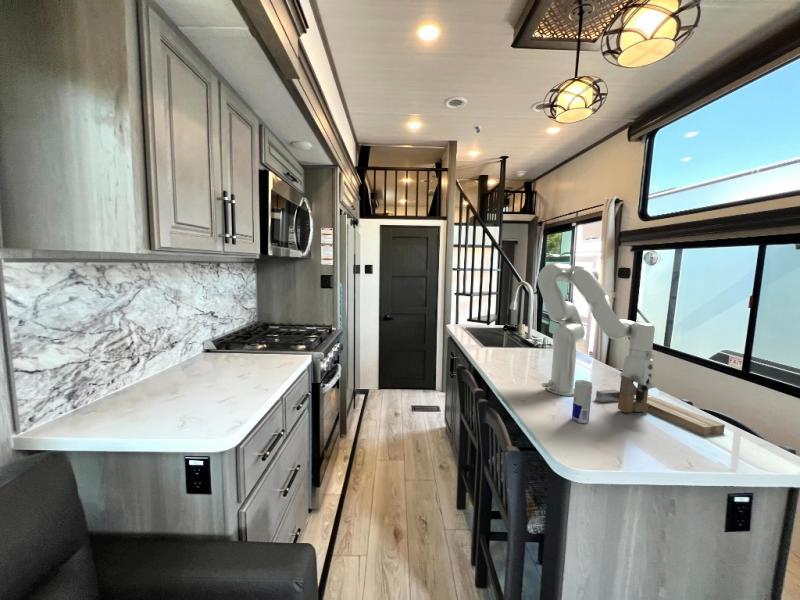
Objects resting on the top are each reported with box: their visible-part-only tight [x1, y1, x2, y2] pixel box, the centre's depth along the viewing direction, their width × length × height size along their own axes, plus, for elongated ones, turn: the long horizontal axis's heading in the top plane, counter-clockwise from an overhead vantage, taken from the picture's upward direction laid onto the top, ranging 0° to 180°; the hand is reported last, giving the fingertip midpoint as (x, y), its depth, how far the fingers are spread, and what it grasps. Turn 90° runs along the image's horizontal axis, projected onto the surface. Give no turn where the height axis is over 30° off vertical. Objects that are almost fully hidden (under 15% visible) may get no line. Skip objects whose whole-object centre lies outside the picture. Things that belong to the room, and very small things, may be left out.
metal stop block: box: [595, 389, 620, 403], centre depth 143 cm, size 10×3×4 cm, turn 105°
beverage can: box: [571, 379, 593, 424], centre depth 122 cm, size 6×6×15 cm
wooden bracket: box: [617, 375, 649, 413], centre depth 131 cm, size 4×11×18 cm, turn 99°
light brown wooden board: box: [634, 394, 726, 437], centre depth 130 cm, size 10×30×3 cm, turn 15°
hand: (634, 397), depth 131 cm, fingers closed on wooden bracket, 3 cm apart
